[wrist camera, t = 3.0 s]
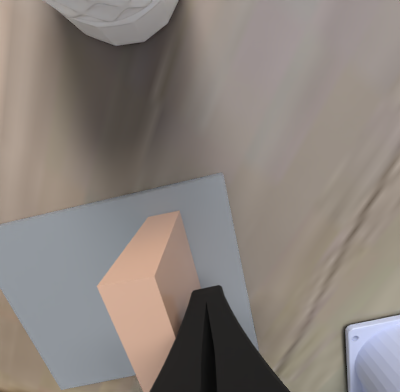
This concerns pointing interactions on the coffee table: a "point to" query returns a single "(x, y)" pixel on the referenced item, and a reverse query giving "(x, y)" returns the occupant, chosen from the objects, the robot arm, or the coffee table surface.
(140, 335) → the block
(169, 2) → the white cup
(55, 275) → the felt mat
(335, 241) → the coffee table surface
